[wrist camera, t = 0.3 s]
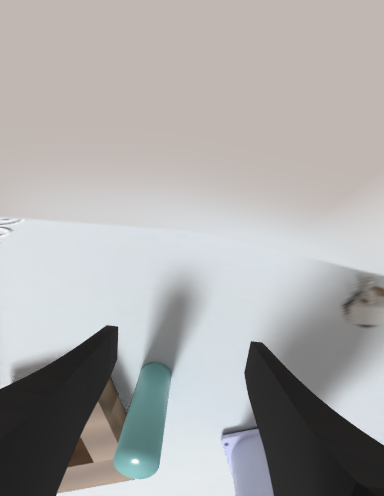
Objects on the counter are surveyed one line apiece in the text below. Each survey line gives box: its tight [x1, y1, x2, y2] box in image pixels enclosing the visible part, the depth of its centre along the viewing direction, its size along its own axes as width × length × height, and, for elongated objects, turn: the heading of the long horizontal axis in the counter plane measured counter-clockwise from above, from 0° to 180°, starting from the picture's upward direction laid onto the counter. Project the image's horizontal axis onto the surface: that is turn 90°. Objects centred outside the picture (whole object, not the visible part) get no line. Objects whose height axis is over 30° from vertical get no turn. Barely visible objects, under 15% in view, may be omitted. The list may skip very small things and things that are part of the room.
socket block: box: [57, 377, 135, 493], centre depth 24 cm, size 12×12×3 cm
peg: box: [113, 363, 171, 479], centre depth 20 cm, size 4×4×8 cm
